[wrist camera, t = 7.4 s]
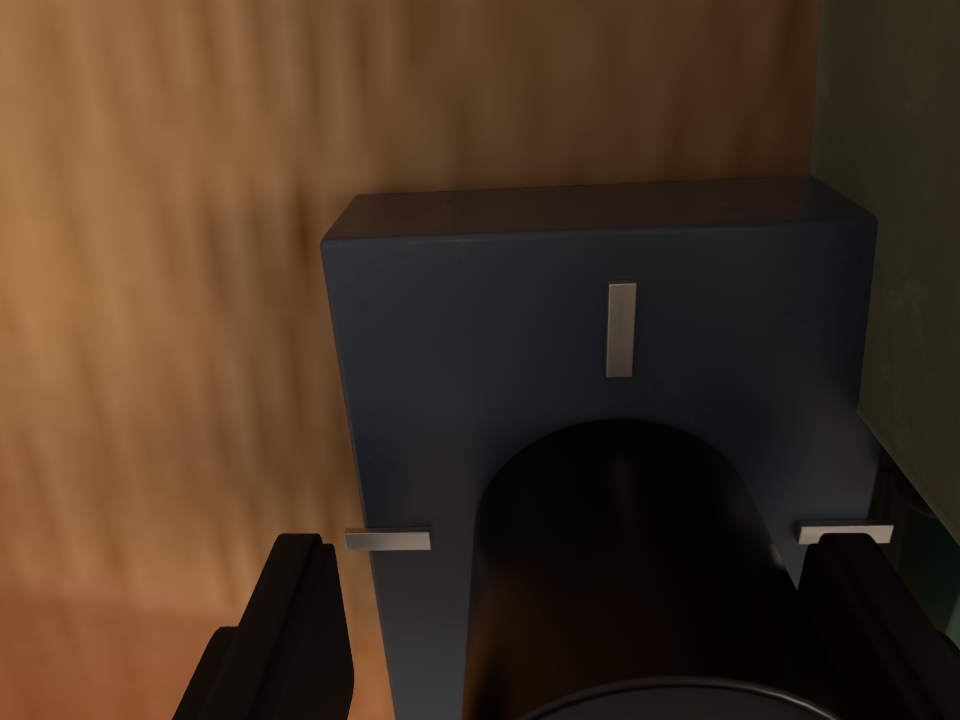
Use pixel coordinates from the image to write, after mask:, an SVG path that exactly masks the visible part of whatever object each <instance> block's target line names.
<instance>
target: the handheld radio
mask: <svg viewBox="0 0 960 720" xmlns="http://www.w3.org/2000/svg"><path fill="white" fill-rule="evenodd" d="M809 176H814V177H816V178H818V179H819V180H821V181H822V182H824V183H825V184H827V185H828V186H830V187H831V188H833V189H834V190H836V191H838V192H839V193H841V194H842V195H844V196H845V197H847V198H848V199H850V200H851V201H853V202H855V203H856V204H858V205H859V206H861V207H862V208H864V209H865V210H867V211H868V212H870V213H872V214H873V215H875V216H876V218H877V220H878V230H877V239H876V248H875V257H874V266H873V276H872V285H871V294H870V303H869V312H868V321H867V331H866V340H865V349H864V358H863V367H862V376H861V386H860V395H859V402H858V407H857V411H856V412H857V413H858V414H859V415H860V417H861V418H862V419H863V421H864V422H865V423H866V425H867V426H868V427H869V428H870V430H871V431H872V432H873V434H874V435H875V436H876V438H877V439H878V440H879V442H880V443H881V444H882V445H883V447H884V452H883V456H882V460H881V464H880V468H879V472H878V476H877V480H876V484H875V488H874V492H873V496H872V500H871V505H870V509H869V513H868V517H867V520H871V519H889V520H890V521H891V522H892V524H893V525H894V527H893V531H892V535H891V538H890V542H889V543H877V544H878V546H879V547H880V549H881V550H882V552H883V553H884V555H885V556H886V557H887V559H888V560H889V562H890V563H891V565H892V566H893V568H894V569H895V571H896V572H897V573H898V569H899V563H900V556H901V550H902V543H903V537H904V531H905V524H906V518H907V511H908V506H909V507H911V508H912V509H914V510H916V511H917V512H919V513H921V514H923V515H926V516H928V517H932V518H936V519H939V520H940V521H941V522H942V524H943V525H944V526H945V528H946V529H947V530H948V531H949V533H950V534H951V535H952V537H953V538H954V539H955V541H956V542H957V543H958V545H959V546H960V0H820V11H819V27H818V43H817V59H816V75H815V91H814V107H813V123H812V139H811V155H810V171H809Z"/></svg>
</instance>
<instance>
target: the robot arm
mask: <svg viewBox="0 0 960 720" xmlns="http://www.w3.org/2000/svg"><path fill="white" fill-rule="evenodd" d="M797 591H798V594H799V596H800V598H801V600H802V602H803V604H804V606H805V608H806V610H807V612H808V614H809V616H810V618H811V620H812V622H813V624H814V626H815V628H816V631H817V633H818V635H819V637H820V639H821V641H822V643H823V645H824V647H825V649H826V651H827V653H828V655H829V657H830V659H831V661H832V663H833V665H834V668H835V670H836V672H837V674H838V676H839V678H840V680H841V682H842V684H843V686H844V688H845V690H846V692H847V694H848V696H849V698H850V700H851V702H852V705H853V707H854V709H855V711H856V713H857V715H858V717H859V719H860V720H960V650H959V648H958V647H957V646H956V644H955V643H954V642H953V641H952V640H951V639H950V638H949V637H948V636H947V635H945V634H944V633H942V632H941V631H938V630H936V629H935V627H934V626H933V624H932V623H931V621H930V620H929V618H928V617H927V615H926V614H925V613H924V611H923V610H922V608H921V607H920V605H919V604H918V602H917V601H916V600H915V598H914V597H913V595H912V594H911V592H910V591H909V589H908V588H907V586H906V585H905V584H904V582H903V581H902V579H901V578H900V576H899V575H898V573H897V572H896V571H895V569H894V568H893V566H892V565H891V563H890V562H889V560H888V559H887V557H886V556H885V555H884V553H883V552H882V550H881V549H880V547H879V546H878V544H877V543H876V541H875V540H874V539H873V538H872V537H871V536H870V535H869V534H867V533H824V534H822V536H821V537H820V539H819V542H818V543H812V544H809V546H808V547H807V550H806V554H805V559H804V563H803V568H802V572H801V577H800V581H799V586H798V590H797ZM353 689H354V667H353V661H352V655H351V648H350V642H349V636H348V629H347V623H346V617H345V611H344V604H343V598H342V592H341V585H340V579H339V573H338V567H337V560H336V554H335V549H334V546H333V544H323V542H322V538H321V536H320V535H319V534H280V535H279V536H278V537H277V539H276V541H275V543H274V545H273V548H272V550H271V552H270V555H269V557H268V559H267V561H266V564H265V566H264V568H263V570H262V573H261V575H260V577H259V580H258V582H257V584H256V586H255V589H254V591H253V593H252V596H251V598H250V600H249V602H248V605H247V607H246V609H245V612H244V614H243V616H242V618H241V621H240V623H239V625H238V627H220V628H219V629H218V630H217V631H216V632H215V633H214V634H213V636H212V638H211V639H210V641H209V643H208V645H207V647H206V649H205V651H204V653H203V655H202V657H201V660H200V662H199V664H198V666H197V668H196V670H195V672H194V674H193V676H192V679H191V681H190V683H189V685H188V687H187V689H186V691H185V693H184V695H183V698H182V700H181V702H180V704H179V706H178V708H177V710H176V712H175V714H174V717H173V719H172V720H347V718H348V714H349V709H350V705H351V700H352V695H353Z"/></svg>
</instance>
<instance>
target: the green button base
mask: <svg viewBox="0 0 960 720" xmlns="http://www.w3.org/2000/svg"><path fill="white" fill-rule="evenodd" d="M898 575H899V576H900V578H901V579H902V581H903V582H904V584H905V585H906V586H907V588H908V589H909V591H910V592H911V594H912V595H913V597H914V598H915V600H916V601H917V602H918V604H919V605H920V607H921V608H922V610H923V611H924V613H925V614H926V615H927V617H928V618H929V620H930V621H931V623H932V624H933V626H934V627H935V629H936V630H938V631H941V632H942V633H944V634H945V635H947V636H948V637H949V638H950V639H951V640H952V641H953V642H954V643H955V644H956V646H957V647H958V648H959V650H960V546H959V545H958V543H957V542H956V541H955V539H954V538H953V537H952V535H951V534H950V533H949V531H948V530H947V529H946V528H945V526H944V525H943V524H942V522H941V521H940V520H939V519H936V518H932V517H928V516H926V515H923V514H921V513H919V512H917V511H916V510H914V509H912V508H911V507H909V506H908V511H907V518H906V524H905V531H904V537H903V543H902V550H901V556H900V563H899V569H898Z"/></svg>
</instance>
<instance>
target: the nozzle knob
mask: <svg viewBox="0 0 960 720" xmlns="http://www.w3.org/2000/svg"><path fill="white" fill-rule="evenodd" d="M461 720H860V719H859V717H858V715H857V713H856V711H855V709H854V707H853V705H852V702H851V700H850V698H849V696H848V694H847V692H846V690H845V688H844V686H843V684H842V682H841V680H840V678H839V676H838V674H837V672H836V670H835V668H834V665H833V663H832V661H831V659H830V657H829V655H828V653H827V651H826V649H825V647H824V645H823V643H822V641H821V639H820V637H819V635H818V633H817V631H816V628H815V626H814V624H813V622H812V620H811V618H810V616H809V614H808V612H807V610H806V608H805V606H804V604H803V602H802V600H801V598H800V596H799V594H798V591H797V589H796V587H795V585H794V583H793V581H792V579H791V577H790V575H789V573H788V571H787V569H786V567H785V565H784V563H783V561H782V559H781V557H780V554H779V552H778V550H777V548H776V546H775V544H774V542H773V540H772V538H771V536H770V534H769V532H768V530H767V528H766V526H765V524H764V522H763V520H762V518H761V515H760V513H759V511H758V509H757V507H756V505H755V503H754V501H753V499H752V497H751V495H750V493H749V491H748V489H747V487H746V485H745V483H744V481H743V479H742V478H741V476H740V475H739V473H738V472H737V470H736V469H735V467H734V466H733V465H732V464H731V463H730V462H729V461H728V460H727V459H726V458H725V457H724V456H723V455H722V454H721V453H720V452H718V451H717V450H716V449H715V448H713V447H712V446H711V445H709V444H707V443H706V442H704V441H702V440H701V439H699V438H697V437H696V436H694V435H691V434H689V433H687V432H684V431H682V430H680V429H677V428H674V427H671V426H667V425H664V424H661V423H656V422H650V421H644V420H633V419H609V420H597V421H592V422H586V423H580V424H577V425H573V426H570V427H566V428H563V429H560V430H558V431H556V432H553V433H551V434H548V435H546V436H544V437H542V438H540V439H539V440H537V441H535V442H533V443H531V444H530V445H528V446H527V447H525V448H524V449H523V450H521V451H520V452H518V453H517V454H516V455H514V456H513V457H512V458H511V459H510V460H509V461H508V462H507V463H506V464H505V465H504V466H503V467H502V468H501V469H500V470H499V472H498V473H497V474H496V475H495V477H494V478H493V479H492V480H491V482H490V484H489V485H488V487H487V489H486V490H485V492H484V494H483V496H482V499H481V501H480V504H479V506H478V509H477V513H476V518H475V523H474V537H473V552H472V567H471V582H470V597H469V612H468V627H467V642H466V657H465V672H464V687H463V702H462V717H461Z"/></svg>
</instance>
